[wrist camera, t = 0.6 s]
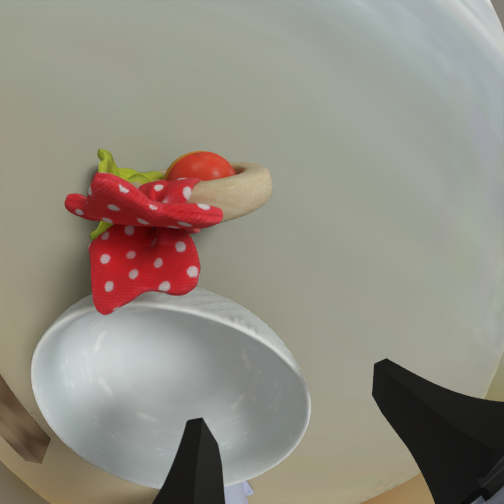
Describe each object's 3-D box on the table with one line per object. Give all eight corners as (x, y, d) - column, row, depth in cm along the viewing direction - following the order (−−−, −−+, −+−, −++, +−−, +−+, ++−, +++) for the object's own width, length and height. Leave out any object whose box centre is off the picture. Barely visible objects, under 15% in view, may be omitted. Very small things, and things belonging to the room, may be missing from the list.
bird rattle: (202, 128, 17) (64, 163, 13) (331, 74, 8) (31, 104, 4) (221, 218, 19) (92, 264, 15) (357, 242, 10) (110, 361, 6)
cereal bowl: (321, 361, 22) (357, 421, 15) (180, 447, 23) (181, 505, 16) (172, 197, 16) (151, 217, 10) (36, 341, 17) (-2, 396, 11)
